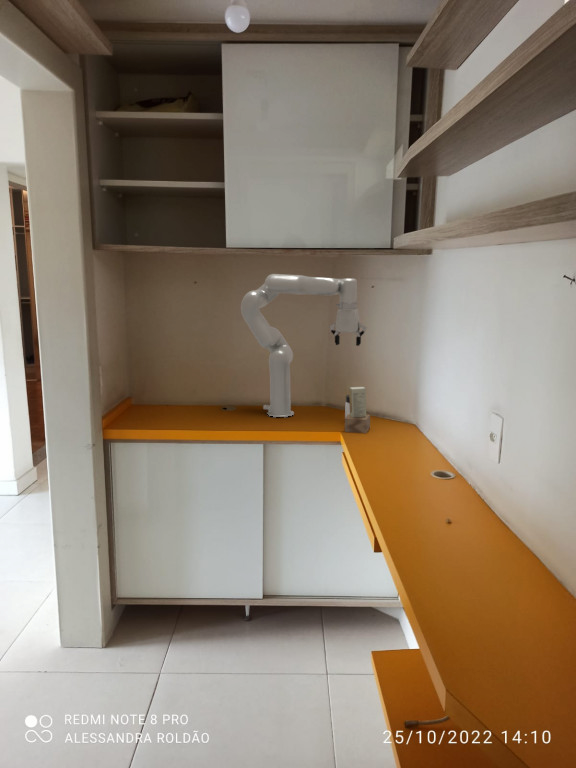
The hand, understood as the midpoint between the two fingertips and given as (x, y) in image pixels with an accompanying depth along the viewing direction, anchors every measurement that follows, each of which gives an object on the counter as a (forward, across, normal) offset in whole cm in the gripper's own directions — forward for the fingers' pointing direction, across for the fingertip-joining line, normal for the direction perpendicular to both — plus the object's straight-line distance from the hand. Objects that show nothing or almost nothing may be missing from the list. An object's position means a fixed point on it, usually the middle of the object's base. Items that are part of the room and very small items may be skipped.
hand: (347, 345), depth 247 cm
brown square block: (+34, +11, -19) cm, 40 cm away
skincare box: (+28, +11, -19) cm, 35 cm away
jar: (+34, +6, -8) cm, 35 cm away
